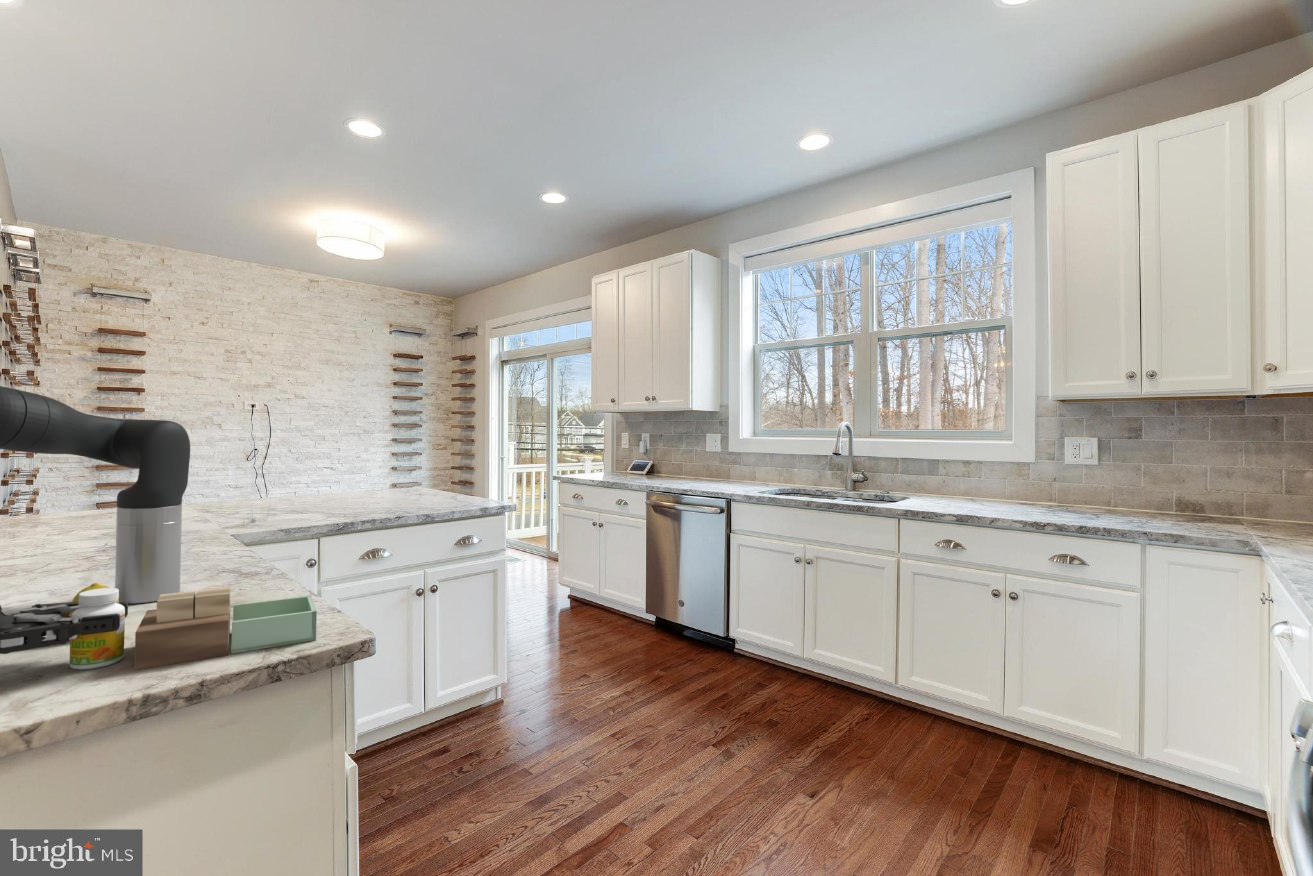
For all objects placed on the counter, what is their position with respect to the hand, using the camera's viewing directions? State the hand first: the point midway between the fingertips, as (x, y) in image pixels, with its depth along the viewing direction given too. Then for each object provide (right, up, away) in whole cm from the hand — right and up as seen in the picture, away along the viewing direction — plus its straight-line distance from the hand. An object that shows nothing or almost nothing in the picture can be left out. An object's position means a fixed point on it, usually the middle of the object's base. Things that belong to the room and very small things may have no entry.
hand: (123, 615), depth 81 cm
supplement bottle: (-2, -6, -1) cm, 7 cm away
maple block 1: (+5, -1, +3) cm, 6 cm away
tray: (+14, -6, +10) cm, 19 cm away
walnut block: (+6, -6, +4) cm, 9 cm away
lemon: (-12, -6, +9) cm, 16 cm away
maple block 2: (+8, -1, +6) cm, 10 cm away
